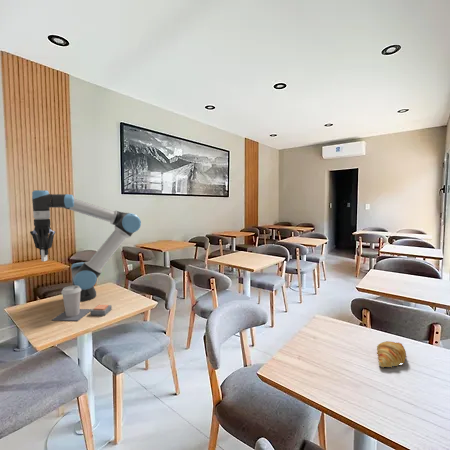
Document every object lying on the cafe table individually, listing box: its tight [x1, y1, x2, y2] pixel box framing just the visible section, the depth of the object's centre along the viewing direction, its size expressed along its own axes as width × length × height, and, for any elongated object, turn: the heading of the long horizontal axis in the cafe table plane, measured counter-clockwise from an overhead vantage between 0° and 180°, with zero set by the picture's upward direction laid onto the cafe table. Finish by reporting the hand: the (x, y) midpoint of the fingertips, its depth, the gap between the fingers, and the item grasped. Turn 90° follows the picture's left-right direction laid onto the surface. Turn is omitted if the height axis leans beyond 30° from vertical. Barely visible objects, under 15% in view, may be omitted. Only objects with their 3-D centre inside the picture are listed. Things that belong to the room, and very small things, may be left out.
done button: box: [94, 304, 109, 310], centre depth 149 cm, size 6×6×2 cm
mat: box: [51, 308, 93, 322], centre depth 145 cm, size 14×14×1 cm
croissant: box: [376, 340, 407, 368], centre depth 106 cm, size 21×10×8 cm, turn 131°
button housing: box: [89, 304, 113, 317], centre depth 149 cm, size 8×8×3 cm
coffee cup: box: [60, 285, 81, 317], centre depth 145 cm, size 10×10×15 cm
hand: (44, 260), depth 147 cm, fingers closed
